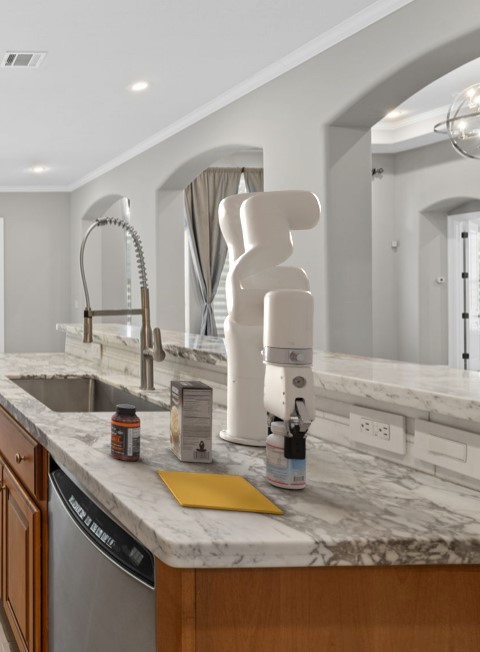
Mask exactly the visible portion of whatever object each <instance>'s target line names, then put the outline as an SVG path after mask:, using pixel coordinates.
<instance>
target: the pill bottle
mask: <svg viewBox="0 0 480 652" xmlns="http://www.w3.org/2000/svg"><path fill="white" fill-rule="evenodd" d="M294 425H297V424H291V426H292V428H293V427H294ZM271 431H272V432H273V434H270V435H269V436H268V437H267V439H266V446H265V448H266V449H265V456H266V457H265V460H266V461H265V479H266V481H267V482H268V483H269V484H270V485H273V486H274V487H278V488H282V489H289V490H300V489H301V490H302V489H304V488H305V487H306V485H307V457H306V458H305V459H304V460H297V459H286V458H285V457H284V436H287V433H286V427H285V422H272V423H271Z"/></svg>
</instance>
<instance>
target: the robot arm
mask: <svg viewBox="0 0 480 652" xmlns="http://www.w3.org/2000/svg"><path fill="white" fill-rule="evenodd" d="M321 208H322V207H321V203H320V201H319V197H317V195H316V193H314V192H312V191H310V190H303V189H288V190H287V189H286V190H273V191H271V190H270V191H254V192H243V193H236V194H232V195H228V196H226V197H224V198H223V199H222V200H221V201H220V203H219V206H218V211H217V212H218V213H217V214H218V224H219V229H220V232H221V234H222V237H223V239H224V241H225V243H226V246H227V250H228V264H229V265H228V266H229V267H228V268H229V270H228V272H227V275H226V278H225V284H224V285H225V286H224V288H225V302H226V310H227V316H226V317H225V318H224V321H223V335H224V339H225V346H226V357H227V359H226V360H227V385H226V386H227V388H226V390H227V393H226V395H227V397H226V399H227V401H226V429H222V430H220V431H219V437H220V438H221V439H222V440H225V441H227V442H230V443H234V444H238V445H239V444H240V445H244V446H253V447H254V446H255V447H266V439H267V437H268V436H269V435H270V434H273V432H272V431H271V423H272V422H285V427H286V433H287V436H284V457H285V458H286V459H297V460H304V459H305V458H306V459H307V438H308V432H309V428H310V427H311V425H312V423H313V422H315V420H316V391H315V390H316V389H315V380H314V374H313V373H314V372H313V368H312V367H313V366H314V365H313V364H314V361H313V360H314V311H315V303H314V302H315V301H314V299H315V298H314V296H313V294H312V293H311V289H310V281H309V277H308V274H307V273H306V271H305V270H304V269H303V268H302V267H299V266H296V265H295V266H293V265H281V264H283V263H285V262H286V261H288V260H289V259H290V258H291V256H292V255H293V253H294V244H293V238H292V234H291V231H307V230H312V229H314V228H315V227H316V226H317V225H318V223H320V222H319V221H320V220H321V215H322V209H321ZM295 418H297V419H295ZM291 424H297V425H294V427H293V428H292V426H291Z"/></svg>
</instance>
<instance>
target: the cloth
mask: <svg viewBox="0 0 480 652" xmlns="http://www.w3.org/2000/svg"><path fill="white" fill-rule="evenodd" d="M156 473H157V474H158V476H159V477H160V478H161V480H162V481H163V482H164V484H165V485H166V487H167V488H168V489H169V490H170V492H171V493H172V495H173V496H174V497H175V499H176V500H177V502H178V503H179V505H180V506H181V507H189V508H200V509H201V508H202V509H213V510H226V511H227V510H228V511H238V512H248V513H249V512H251V513H262V514H276V515H277V514H278V515H284V511H282V509H280V508H279V507H278V506H277V505H276V504H275V503H274V502H272V501H271V500H270V499H268V498H267V497H266V496H265V495H264V494H263V493H261V492H260V491H259V490H258V489H257V488H255V487H254V486H253V485H252V484H251V483H250V482H249V481H248V480H246V479H245V478H244V477H243V476H241V475H234V474H219V473H203V472H191V471H175V470H173V471H172V470H162V469H161V470H159V469H157V470H156Z"/></svg>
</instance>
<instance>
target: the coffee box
mask: <svg viewBox="0 0 480 652" xmlns="http://www.w3.org/2000/svg"><path fill="white" fill-rule="evenodd" d="M169 386H170V388H169V389H170V391H169V392H170V394H169V395H170V396H169V400H170V401H169V450H170V451H171V452H172V453H173V454H174V456H175V457H177V459H178V460H179V461H180V462H185V463H205V464H207V463H208V464H212V461H213V460H212V458H213V457H212V456H213V455H212V454H213V408H214V407H213V405H214V404H213V403H214V402H213V401H214V399H213V397H214V393H213V392H214V388H213V387H211V386H210V385H207V384H205V382H202V381H200V380H170V385H169Z"/></svg>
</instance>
